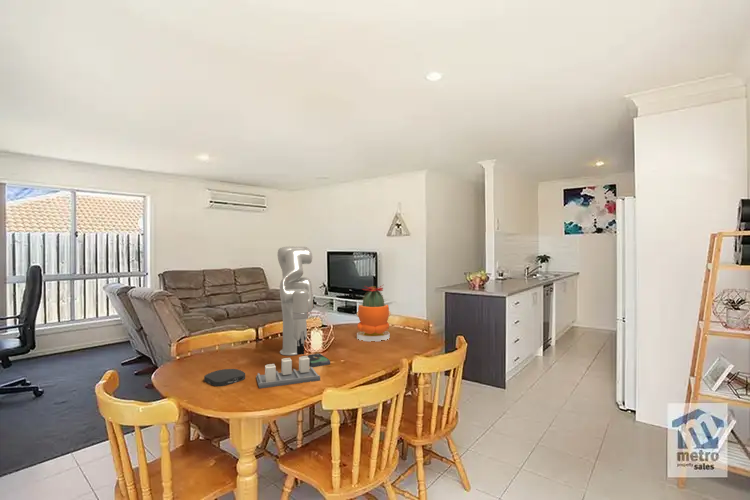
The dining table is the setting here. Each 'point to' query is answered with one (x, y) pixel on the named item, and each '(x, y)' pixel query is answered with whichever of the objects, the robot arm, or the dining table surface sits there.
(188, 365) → the dining table surface
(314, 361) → the disk drive
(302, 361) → the tab
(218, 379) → the media streaming box
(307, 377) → the grey divided tray
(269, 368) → the tab
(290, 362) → the tab
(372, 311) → the potted cactus
